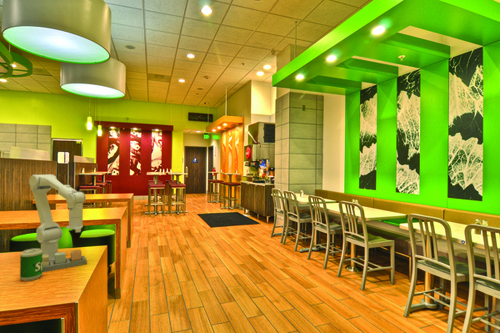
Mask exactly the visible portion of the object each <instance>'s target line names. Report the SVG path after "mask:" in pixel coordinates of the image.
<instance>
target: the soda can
mask: <svg viewBox="0 0 500 333" xmlns="http://www.w3.org/2000/svg"><path fill="white" fill-rule="evenodd" d="M42 267H43V251H42V250H41V247H40V248H38V247H36V248H33V247H32V248H28V249H24V250H22V252H21V253H20V260H19V278H20V279H21V281H23V282H24V281H25V282H29V281H30V282H31V281H35V280H37V279H40V277H41V276H42V275H43V272H42Z"/></svg>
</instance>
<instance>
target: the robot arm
mask: <svg viewBox="0 0 500 333" xmlns="http://www.w3.org/2000/svg"><path fill="white" fill-rule="evenodd" d="M28 183H29V184H28V185H29V188H30V190H31V192H32V194H33V198H34V202H35V206H36V210H37V214H38V218H39V222H40V225H39V226H38V227H37V228H36V230H35V231H36V241H37V242H38V243H39V244H40V250H42V251H43V255H49V261H55V253H59V241H60V239H62V237H63V230H62V229H61V226H60V225H59V223H57V222H55V221H54V219H53V216H52V211H51V206H50V203H49V200H48V195H47V193H48V192H49V191H51V189H54V190H56V191H57V193H58V195H59V196H61V197H62V198H64V199H65V202H66V204H67V208H68V225H67V226H65V229H69V230H68V233H69V235H70V238H71V241H72V245H73V246H77V245H79V243H80V239H81V236H82V234H83V231H84V230H83V229H82V228H83V227H84V225H83V222H84V221H83V216H84V213H83V212H84V211H83V210H84V208H83V206H84V203H85V202H86V200H87V199H86V194H85V193H84V192H83V191H77V189H74V188H73V187H71V185H70V184H64V183H62V182H61V181H59V180H58V178H57V176H56V175H54V174H52V173H50V174H32V175H31V177H30V178H29V180H28Z"/></svg>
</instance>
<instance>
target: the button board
mask: <svg viewBox="0 0 500 333" xmlns="http://www.w3.org/2000/svg"><path fill="white" fill-rule="evenodd" d="M87 261H88V259H87V258H86V257H85V255H81V260H75V261H71V257H68V258H66V262H64V263H58V264H55V260H52V261H49V265H47V266H43V267H42V273H48V272H52V271H56V270H58V271H59V270H62V269H68V268H74V267H78V266H84V265H87V264H88V263H87Z"/></svg>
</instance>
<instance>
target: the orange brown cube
mask: <svg viewBox="0 0 500 333" xmlns="http://www.w3.org/2000/svg"><path fill="white" fill-rule="evenodd" d="M81 256H82V250H81V249H80V248H79V249H75V250H70V258H71V261H75V260H81Z"/></svg>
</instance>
